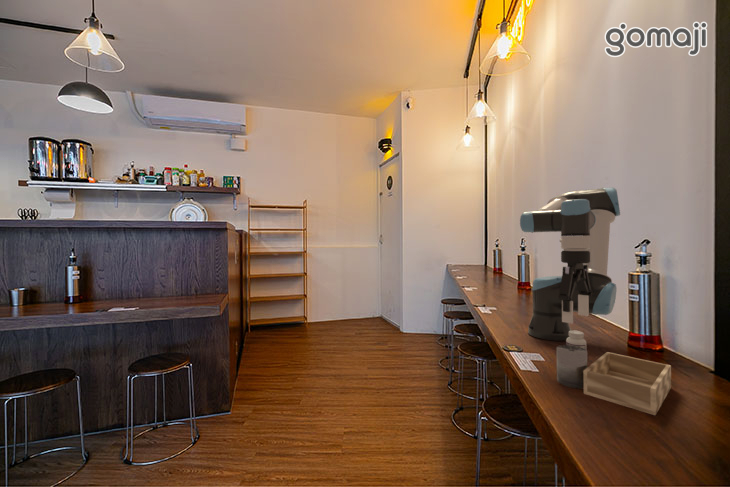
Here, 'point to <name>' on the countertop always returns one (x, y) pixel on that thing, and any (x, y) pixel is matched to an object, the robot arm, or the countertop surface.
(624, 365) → the caddy
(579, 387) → the tin can
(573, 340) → the pill bottle
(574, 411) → the countertop surface
